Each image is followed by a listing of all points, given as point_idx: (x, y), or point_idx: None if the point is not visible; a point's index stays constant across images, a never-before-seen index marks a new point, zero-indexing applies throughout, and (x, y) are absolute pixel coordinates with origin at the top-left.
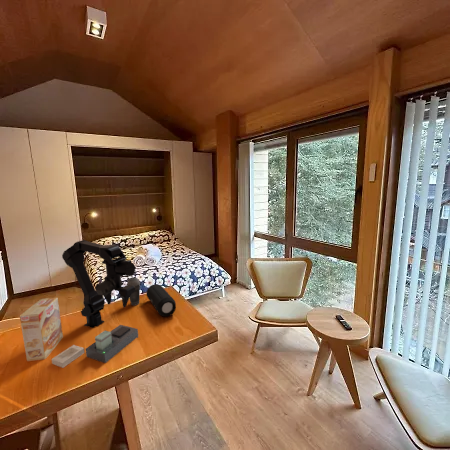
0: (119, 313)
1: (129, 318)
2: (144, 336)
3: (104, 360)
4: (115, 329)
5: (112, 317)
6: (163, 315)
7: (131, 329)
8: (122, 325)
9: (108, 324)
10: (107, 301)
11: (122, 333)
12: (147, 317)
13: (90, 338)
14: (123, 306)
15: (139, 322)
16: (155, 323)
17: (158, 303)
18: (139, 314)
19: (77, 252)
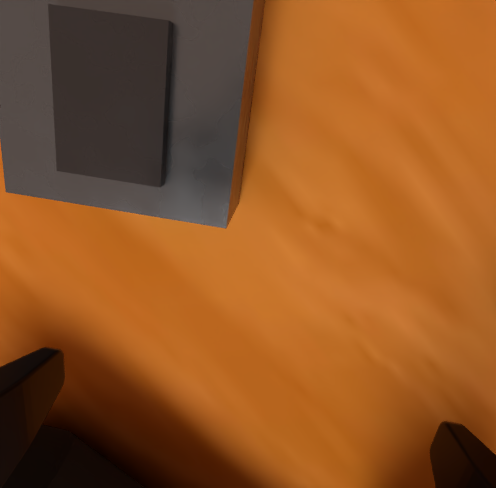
0: (430, 437)
1: (300, 386)
2: None
3: None
4: (213, 136)
5: (459, 385)
6: None
7: (55, 172)
8: (193, 219)
9: (433, 292)
10: (494, 478)
11: (58, 60)
12: (171, 410)
13: (480, 59)
14: (36, 361)
15: (186, 349)
16: (63, 351)
17: None
18: (256, 437)
19: None
